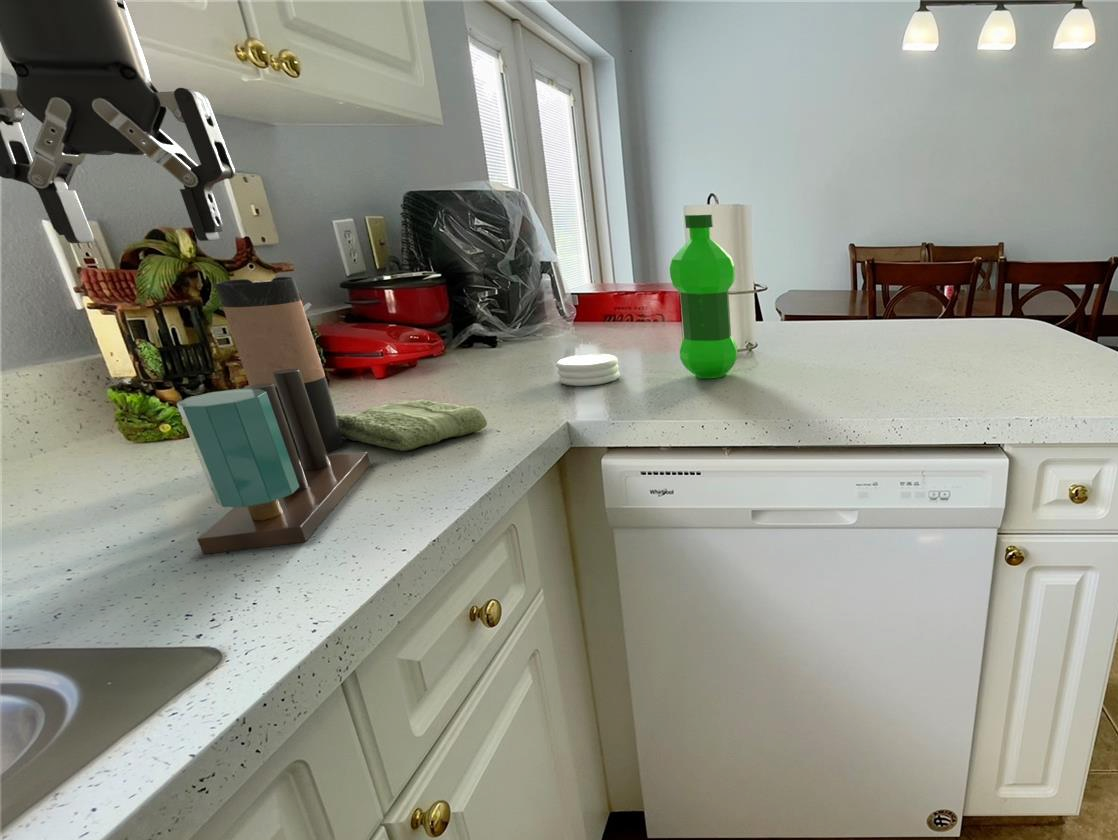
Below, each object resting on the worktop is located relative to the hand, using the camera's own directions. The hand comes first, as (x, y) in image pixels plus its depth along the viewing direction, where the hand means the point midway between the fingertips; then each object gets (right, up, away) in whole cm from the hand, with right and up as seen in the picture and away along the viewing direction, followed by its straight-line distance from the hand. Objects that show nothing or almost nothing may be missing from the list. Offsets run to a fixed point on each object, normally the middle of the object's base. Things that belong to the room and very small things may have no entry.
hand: (147, 241), depth 56 cm
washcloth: (0, -10, +38) cm, 39 cm away
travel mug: (-10, -13, +33) cm, 36 cm away
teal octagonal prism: (+2, -20, +9) cm, 21 cm away
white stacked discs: (+16, +3, +64) cm, 66 cm away
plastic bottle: (+36, +4, +65) cm, 75 cm away
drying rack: (+1, -20, +16) cm, 26 cm away
